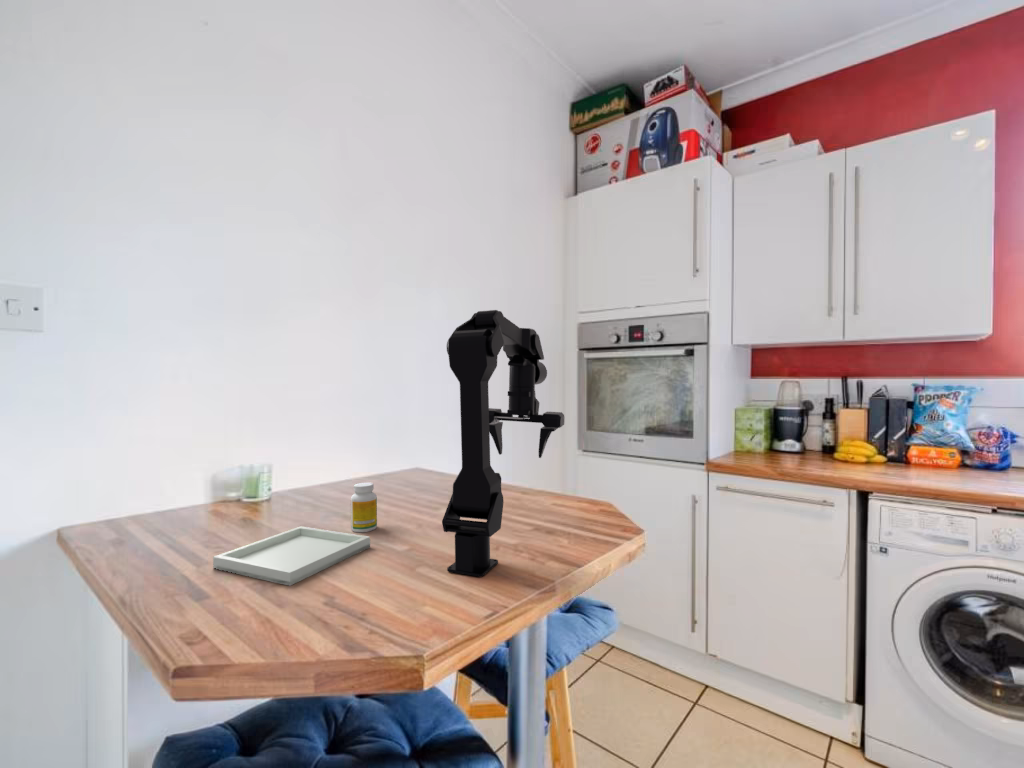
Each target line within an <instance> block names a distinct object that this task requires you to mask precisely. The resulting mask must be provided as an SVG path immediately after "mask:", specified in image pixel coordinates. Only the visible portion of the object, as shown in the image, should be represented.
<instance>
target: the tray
mask: <svg viewBox="0 0 1024 768" xmlns="http://www.w3.org/2000/svg"><path fill="white" fill-rule="evenodd" d="M369 548H371V536H367V535H361V534H354V533H350V532H348V533H347V532H341V531H337V530H336V531H334V530H327V529H323V528H314V527H308V526H301V525H300V526H298V527H294V528H291V529H289V530H286V531H283V532H280V533H277V534H275V535H271V536H268V537H266V538H262V539H260V540H257V541H255V542H251V543H249V544H247V545H243V546H240V547H238V548H237V547H236V548H235V549H232V550H229V551H226V552H222V553H220V554H217V555H214V556H213V558H212V565H213V566H212V569H213V568H216V569H215V570H217V569H219V571H222V570H224V571H223V572H226V571H228V572H227V573H231V572H232V573H231V574H235V573H236V575H240V576H244V577H245V576H246V577H248V576H249V578H252V579H253V578H254V579H258V580H263V581H268V582H271V583H275V584H281V585H285V586H292V585H294V584H296V583H298V582H300V581H303V580H305V579H307V578H309V577H311V576H313V575H315V574H317V573H319V572H321V571H323V570H326V569H328V568H330V567H331V566H334V565H336V564H338V563H340V562H342V561H344V560H346V559H349V558H350V557H353V556H354V555H357V554H360V553H361V552H364V551H366V550H367V549H369Z"/></svg>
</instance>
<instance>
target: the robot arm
mask: <svg viewBox="0 0 1024 768" xmlns="http://www.w3.org/2000/svg"><path fill="white" fill-rule="evenodd" d="M540 338H541V337H540V335H539V334H538V333H537V331H536V330H535V329H533V328H529V327H528V328H526V327H525V328H524V327H519V326H518V325H516V324H515V323H514V322H512V321H511V320H509V319H508V318H507V317H505V316H504V314H503V312H502V311H500V310H498V309H490V310H479V311H477V312H475V313H473V315H472V316H471V318H470V319H468V320H466V321H465V322H463V323H462V324H461V325H459V326H457V327H456V328H455V329H454V330H453V332H452V333H451V335H450V337H449V338H448V340H447V341H446V352H447V355H448V363H449V368H450V370H451V371H452V373H453V374H454V376H455V377H456V379H457V381H458V382H459V398H460V399H459V402H460V403H459V404H460V405H459V406H460V410H459V411H460V438H461V439H460V440H461V441H460V444H461V469H460V470H459V473H458V475H457V476H456V478H455V479H454V482H453V484H452V493H451V497H450V498H449V502H448V504H447V507H446V510H445V511H444V515H443V517H442V520H441V523H442V529H443V532H444V533H455V534H454V562H453V563H452V564H450V565H449V566H447V567H446V568H447V569H446V571H447V572H450V573H455V574H461V575H467V576H472V577H473V576H474V577H477V578H478V577H479V578H480V577H481V578H482V577H483V576H485V575H486V574H487V573H488V572H489V571H491V570H492V569H493V568H494V567H496V565H498V563H499V560H498V559H495V558H491V537H492V536H493V535H495V533H496V534H497V532H498V531H500V530H501V528H502V519H503V509H504V495H503V493H502V476H501V474H500V472H495V470H494V469H493V467H492V466H491V445H490V444H491V442H490V440H491V439H490V436H491V438H492V440H493V443H494V445H495V447H496V451H497V453H498V454H499V455H503V432H502V430H503V425H504V422H503V421H505V422H521V423H536V424H537V423H538V424H542V425H543V426H541V428H540V430H539V431H540V432H539V443H538V458H539V459H541V458H542V457H543V454H544V451H545V448H546V446H547V443H548V441H549V438H550V437H551V434H552V433H553V432H555V431H556V430H558V429H561V428H562V427H563V426H564V425H565V414H564V413H563V412H562V411H561V412H559V411H546V412H544V413H542V414H539V412H540V411H539V410H540V402H539V400H538V399H537V398H536V397H537V396H536V389H535V388H536V385H541V384H542V383H544V381H545V380H546V379H547V376H548V370H547V367H546V366H545V364H544V363H543V362H541V361H542V360H543V361H544V360H545V357H544V352H543V348H542V343H541V339H540ZM501 350H502V351H503V352H504V353H505V355H506V357H507V358H508V362H507V365H508V367H509V372H508V373H509V379H508V383H509V385H508V391H507V396H508V409H507V412H503V411H502V408H492V407H490V406H489V405H490V404H489V403H490V402H489V400H490V399H489V381H490V379H491V377H492V376H493V375H494V373H495V370H496V369H497V367H498V355H499V354H500V352H501ZM461 518H465V519H461ZM468 519H469V520H468ZM470 519H471V520H470ZM472 519H475V520H472ZM479 520H485V521H479Z"/></svg>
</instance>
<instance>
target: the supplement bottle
mask: <svg viewBox="0 0 1024 768" xmlns="http://www.w3.org/2000/svg"><path fill="white" fill-rule="evenodd" d="M374 489H375V488H374V483H373V482H366V481H365V482H359V483H356V484H354V485H353V492H354V493H353V494H352V495H351V497H350V530H351V531H352V532H355V533H367V532H371V531H374V530H375V529H377V527H378V506H377V503H378V502H377V501H378V497H377V494H376V493H375V492H374Z"/></svg>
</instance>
